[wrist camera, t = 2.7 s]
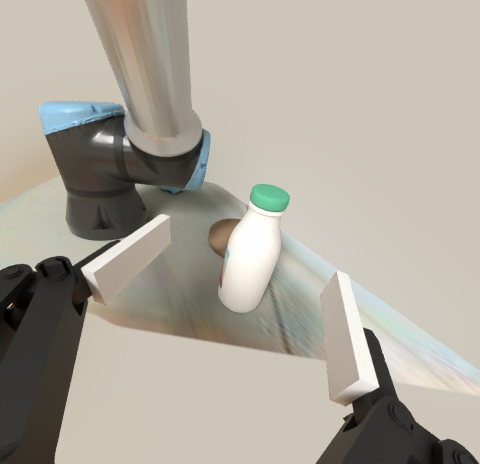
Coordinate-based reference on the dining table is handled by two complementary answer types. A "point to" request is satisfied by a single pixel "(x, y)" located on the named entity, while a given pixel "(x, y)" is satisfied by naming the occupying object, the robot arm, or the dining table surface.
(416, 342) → the dining table surface
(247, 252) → the milk bottle
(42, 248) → the dining table surface
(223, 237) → the brown round coaster
